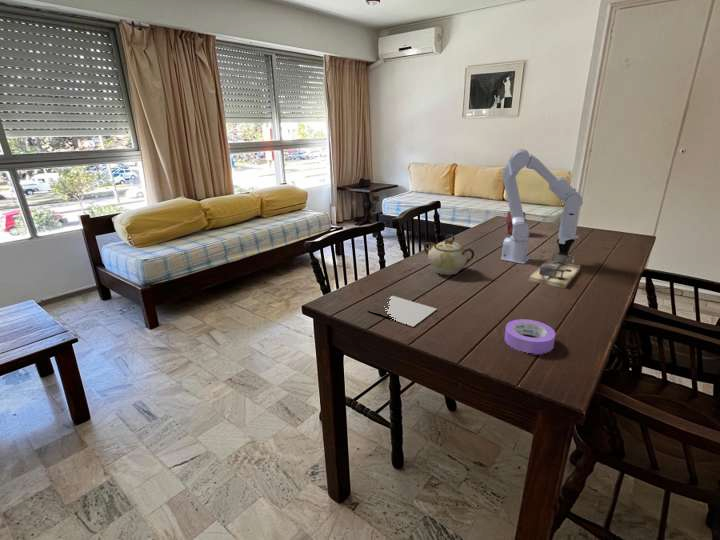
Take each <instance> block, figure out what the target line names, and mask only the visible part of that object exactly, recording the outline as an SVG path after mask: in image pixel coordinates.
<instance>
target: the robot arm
mask: <svg viewBox="0 0 720 540" xmlns="http://www.w3.org/2000/svg"><path fill="white" fill-rule="evenodd" d="M525 167H526V169H529V170H534V171H535V173H537V174H538V175H540V177H541V178H543V180H544V181H546V182H547V183H548V189H549V190H550V192H552V193H553V195H554V196H556V197H557V198H558V200H560V201H563V204H564V205H563V210H562V211H561V212H562V213H561V217H560V218H561V219H560V224H559V231H558V234H557V237H558V239H557V240H556V243H557V246H558V251H559V253H565V254H569V252H570V249H571V247H572V246H573V244H574V243H575V241H576V240H575V239H579V235H576V233H577V228H578V222H579V217H580V211H581V210H580V209H581V207H582V205H583V203H584V202H583V198H582V197H583V196H581V194H580V193H579V191H577V188H575V187H572V186H571V185H570V184H569V183H568V179H566V177H565V178H564V177H560V176H559V177H556V175H554V173H553V172H552V171H550V169H548V167H547V166H545V164H544V163H543V162H542V161H541V160H540V159H539V158H538V157H536V156H535V155H533V154H532V153H529V151H528V150H527V149H524V148H519V149H516V150H515V151H514V152H513V154H511V155H510V157H509V158H508V161H507V163H506V165H505V168H504V169H503V172H502V181H503V185H504V189H505V193H506V194H505V195H506V197H507V198H506V199H507V203H508V208H509V211H510V213H511V217H512V224H513V231H512V234H511V235H510V237H505V238H504V240H503V242H502V250H501V258H500V260H503V261H507V262H512V263H518V264H523V265H524V264H526V263H527V262H528V261H529V260H530V259H531V258H530V257H528V250H529V244H530V237H529V236H530V225H529V224H528V223H527V220H526V221H525V218H526V217H525V218H524V215H523V212H524V211H523V206H522V202H521V197H520V193H519V187H518V182H517V177H516V176H517V175H518V174H519V173H520V171H521V170H522V169H524V168H525Z"/></svg>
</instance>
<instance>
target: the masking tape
mask: <svg viewBox="0 0 720 540" xmlns="http://www.w3.org/2000/svg"><path fill="white" fill-rule="evenodd" d="M526 335H529V336H526ZM532 336H533V337H532ZM555 340H556V331H555V330H554V328H552V327H551V326H550V325H547V324H546V323H543V322H541V321H537V320H534V319H524V318H523V319H521V318H520V319H515V320H511V321H508V323H507V324H506V325H505V332H504V342H505V343H506V344H507V346H509V345H510V346H511V348H512V347H513V348H514V350H515V349H516V351H518V350H519V351H518V352H520V351H522V352H521V353H524V352H526V353H525V354H528V353H533V354H532V355H543V354H542V353H546V354H548V353H547V352H549V351H550V352H552V351H553V350H554V347H555ZM510 346H509V347H510ZM513 348H512V349H513ZM552 349H553V350H552ZM551 350H552V351H551ZM550 352H549V353H550Z"/></svg>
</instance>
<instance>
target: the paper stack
mask: <svg viewBox="0 0 720 540" xmlns="http://www.w3.org/2000/svg"><path fill="white" fill-rule="evenodd" d="M388 298H389V297H388ZM389 299H391V300H390V301H389V304H388V305H390V306H388V307H389V309H387V308H385V309H387V310H385V311H388V312H387V314H391V315H389V316H391V317H394V318H392V319H394V320H393V321H395V320H396V321H395V322H398V323H401V324H403V325H406V324H407V326H409V327H412V328H414V327H415V326H416V325H417V324H419V323H421V322H422V321H423V320H425V319H426V318H427V317H429V316H430V315H431V314H432V313H434V312H435V311H436V310H437V308H435V307H432V306H428V305H426V304H422V303H418V302H414V301H412V300H408V299H405V298H402V297H399V296H395V295H391V296H390V298H389ZM387 303H388V302H387ZM384 307H385V306H384ZM395 318H396V319H395ZM392 319H391V320H392Z"/></svg>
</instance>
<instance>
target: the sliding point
mask: <svg viewBox="0 0 720 540" xmlns="http://www.w3.org/2000/svg"><path fill="white" fill-rule="evenodd" d="M576 257H577V256H573V255H570V254H569V253H568V254H565V253H559V252H558V251H555V252H553V253H552V256H551V261H554V262H560V263H565V264H566V263H568V262H569V259H571V264H574V262H575V259H576Z"/></svg>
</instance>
